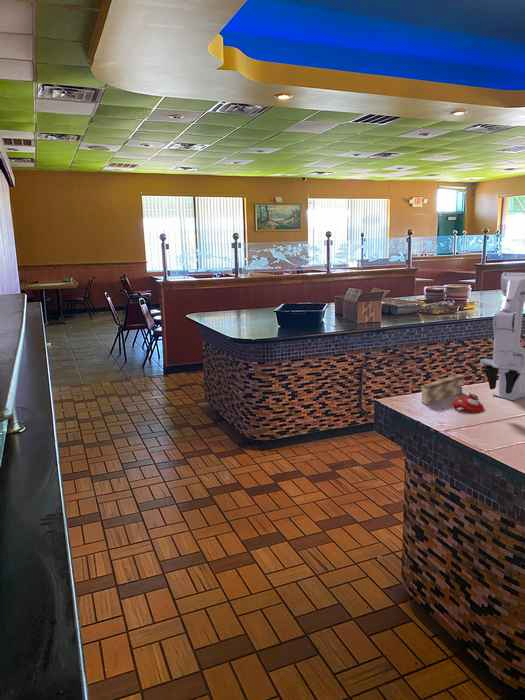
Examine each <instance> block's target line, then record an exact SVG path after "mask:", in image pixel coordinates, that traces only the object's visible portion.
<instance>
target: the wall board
mask: <svg viewBox="0 0 525 700" xmlns="http://www.w3.org/2000/svg"><path fill="white" fill-rule="evenodd" d="M465 378H466V375H465V374H460V373H458V374H455V375H452V376H449V377H445V378H442V379H439V380H435V381H432V382H428V383H425V384H422V385H423V386H421V403H422V404H425V405H428V404H431V403H435V402H438V401H441V400H444V399H446V398H450V397H453V396H455V395H458V394H461V393H463V381H464V380H465Z"/></svg>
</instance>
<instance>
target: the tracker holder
mask: <svg viewBox="0 0 525 700" xmlns="http://www.w3.org/2000/svg"><path fill="white" fill-rule="evenodd" d="M468 394H469V395H468V396H461V397H456V398H455V399H454V400H453V402H452V405H453V408H454V409H459V408H461V409H464V410H465V411H468V412H470V413H475V414H476V413H477V414H478V413H481V412H483V410H484V405H483V404H482V403H481V402H480V399H479V396H477V394H475V393H471V392H468Z"/></svg>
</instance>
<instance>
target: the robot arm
mask: <svg viewBox="0 0 525 700" xmlns="http://www.w3.org/2000/svg"><path fill="white" fill-rule="evenodd" d="M500 289H501V292H502V296H504V297H503V298H502V299H501V300H500V303H499V306H498V310H497V312H496V313H494V314H493V320H492V327H493V337H494V338H493V350H492V351H493V353H492V354H493V355H492V359H487V358H482V359H481V358H480V359H479V361H480V363H479V366H483V367H484V366H485V367H484V368H483V372H484V374H485V376H486V378H487V381H488V385H489V390H494V389H496V387H497V379H498V389H497V392H494V393H492V395H493V396H495V397H498V398H503V399H505V400H511V401H515V400H518V399H520V398H523V397H525V347H523V346H522V345H521V344H520V343H521V335H522V334H521V333H522V324H523V315H524V306H525V272H505V271H503V273H502V274H501V277H500ZM498 373H499V374H498Z"/></svg>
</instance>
